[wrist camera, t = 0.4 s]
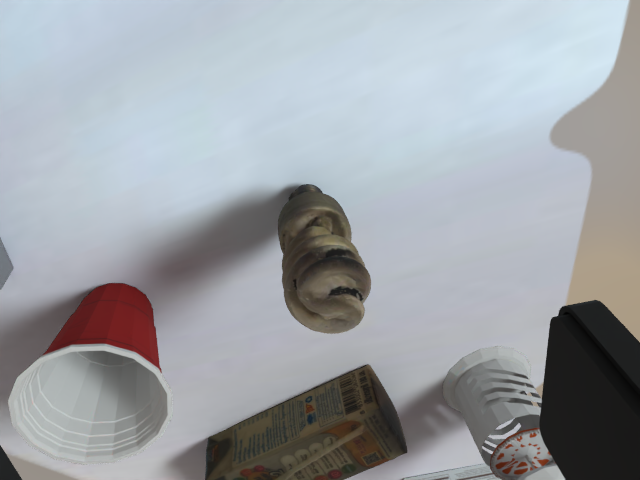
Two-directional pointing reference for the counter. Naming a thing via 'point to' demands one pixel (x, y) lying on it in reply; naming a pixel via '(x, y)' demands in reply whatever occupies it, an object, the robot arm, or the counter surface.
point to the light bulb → (321, 263)
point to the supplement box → (460, 474)
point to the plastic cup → (96, 383)
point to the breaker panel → (4, 265)
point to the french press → (501, 412)
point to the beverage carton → (312, 435)
